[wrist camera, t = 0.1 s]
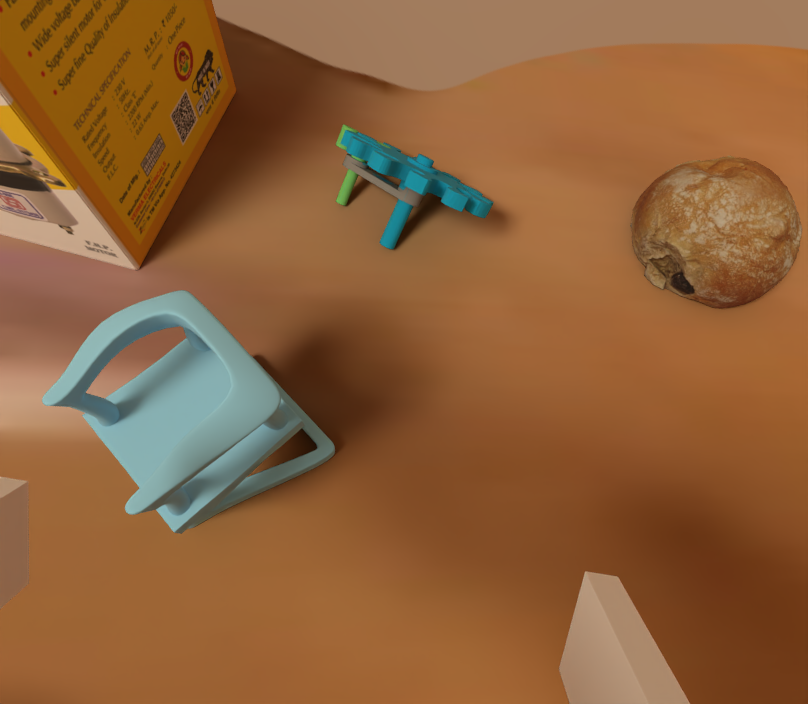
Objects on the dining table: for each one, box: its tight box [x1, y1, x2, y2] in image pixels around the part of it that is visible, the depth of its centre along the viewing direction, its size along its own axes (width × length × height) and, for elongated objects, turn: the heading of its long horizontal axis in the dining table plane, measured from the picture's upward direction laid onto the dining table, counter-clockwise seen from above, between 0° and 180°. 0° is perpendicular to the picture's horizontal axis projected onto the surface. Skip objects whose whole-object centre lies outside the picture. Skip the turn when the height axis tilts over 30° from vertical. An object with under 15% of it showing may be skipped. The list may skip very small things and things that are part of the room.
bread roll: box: [631, 156, 802, 308], centre depth 34 cm, size 10×10×8 cm
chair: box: [42, 290, 335, 534], centre depth 23 cm, size 8×8×12 cm
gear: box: [336, 124, 494, 249], centre depth 33 cm, size 11×6×10 cm
